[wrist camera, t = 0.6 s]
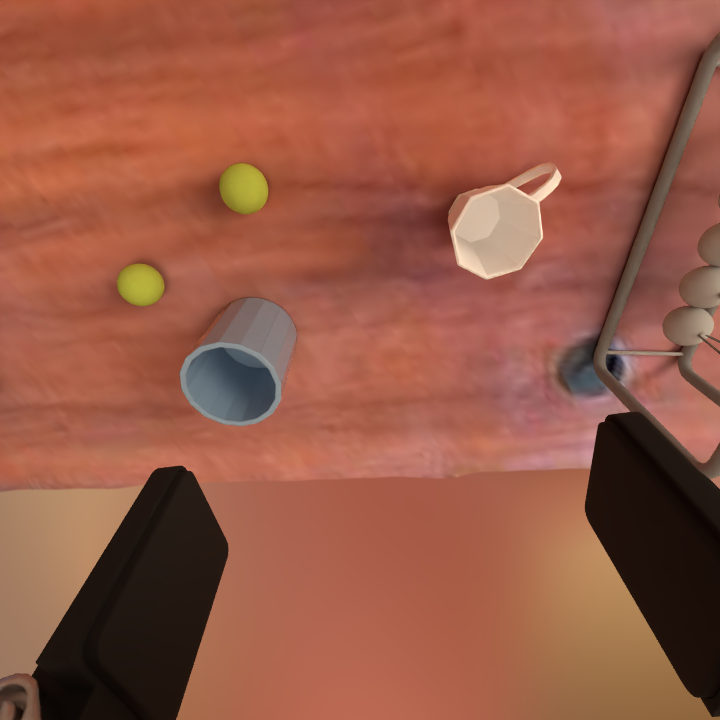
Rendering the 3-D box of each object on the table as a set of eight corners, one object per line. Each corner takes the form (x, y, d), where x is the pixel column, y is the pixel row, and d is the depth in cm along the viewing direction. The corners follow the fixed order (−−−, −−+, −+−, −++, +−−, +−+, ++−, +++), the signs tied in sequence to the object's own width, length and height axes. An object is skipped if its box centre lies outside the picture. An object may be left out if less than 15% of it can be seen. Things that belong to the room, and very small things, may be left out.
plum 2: (217, 181, 36) (202, 187, 32) (249, 150, 34) (237, 153, 31) (250, 218, 37) (238, 228, 34) (281, 190, 36) (273, 197, 33)
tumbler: (199, 327, 43) (158, 378, 34) (257, 280, 40) (228, 323, 32) (257, 381, 46) (232, 440, 38) (313, 341, 44) (301, 394, 35)
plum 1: (121, 274, 40) (98, 288, 37) (146, 249, 39) (125, 262, 35) (154, 304, 42) (135, 320, 38) (179, 281, 40) (162, 296, 37)
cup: (417, 210, 37) (431, 230, 30) (514, 127, 33) (554, 127, 27) (461, 266, 39) (482, 297, 33) (554, 195, 36) (600, 211, 29)
